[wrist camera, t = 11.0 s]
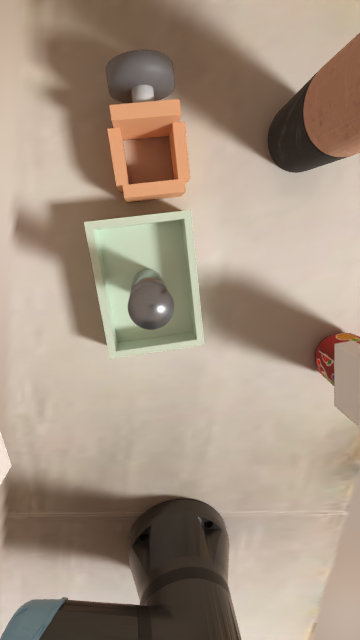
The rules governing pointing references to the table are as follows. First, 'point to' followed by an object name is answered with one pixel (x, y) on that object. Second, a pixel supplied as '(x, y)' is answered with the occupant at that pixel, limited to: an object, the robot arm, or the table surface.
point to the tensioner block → (146, 119)
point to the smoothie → (331, 353)
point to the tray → (135, 255)
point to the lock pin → (150, 301)
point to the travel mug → (321, 116)
